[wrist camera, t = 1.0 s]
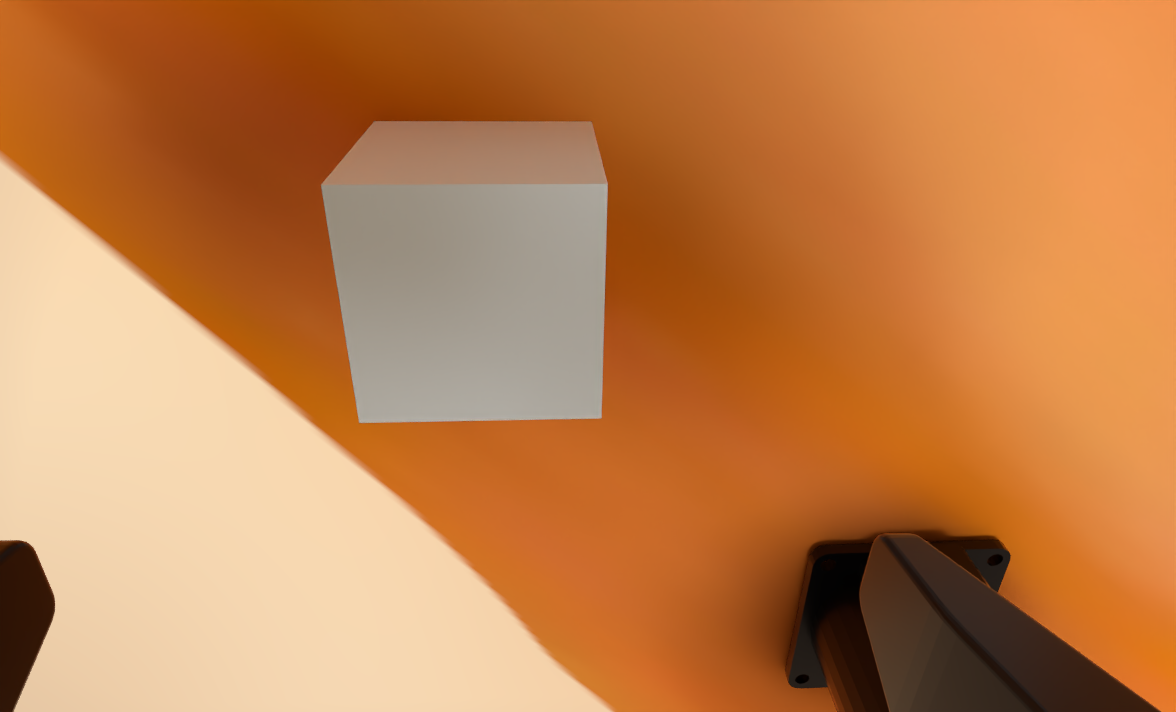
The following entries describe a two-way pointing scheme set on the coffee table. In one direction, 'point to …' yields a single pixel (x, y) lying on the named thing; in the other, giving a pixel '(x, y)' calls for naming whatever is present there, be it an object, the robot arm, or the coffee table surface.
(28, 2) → the coffee table surface
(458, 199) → the top block
